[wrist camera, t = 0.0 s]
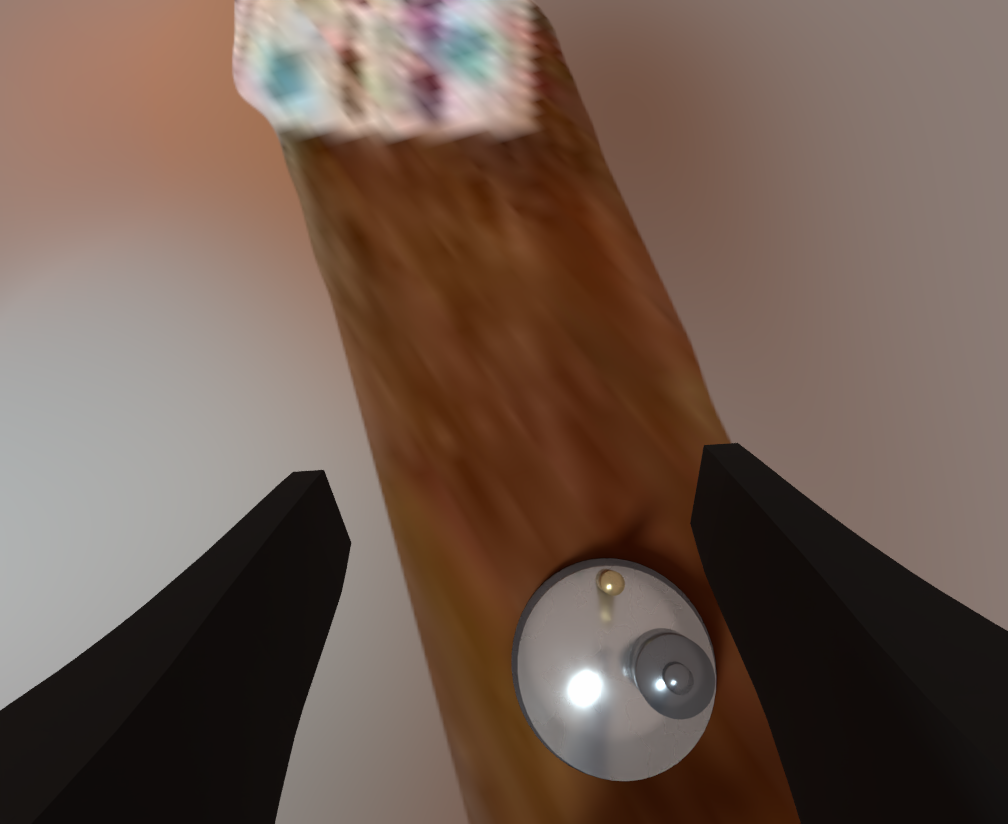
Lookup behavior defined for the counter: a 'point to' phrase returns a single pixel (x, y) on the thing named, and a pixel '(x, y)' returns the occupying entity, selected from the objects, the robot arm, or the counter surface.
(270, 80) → the counter surface
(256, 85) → the counter surface
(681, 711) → the lid
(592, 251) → the counter surface
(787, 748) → the robot arm
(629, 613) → the turntable
